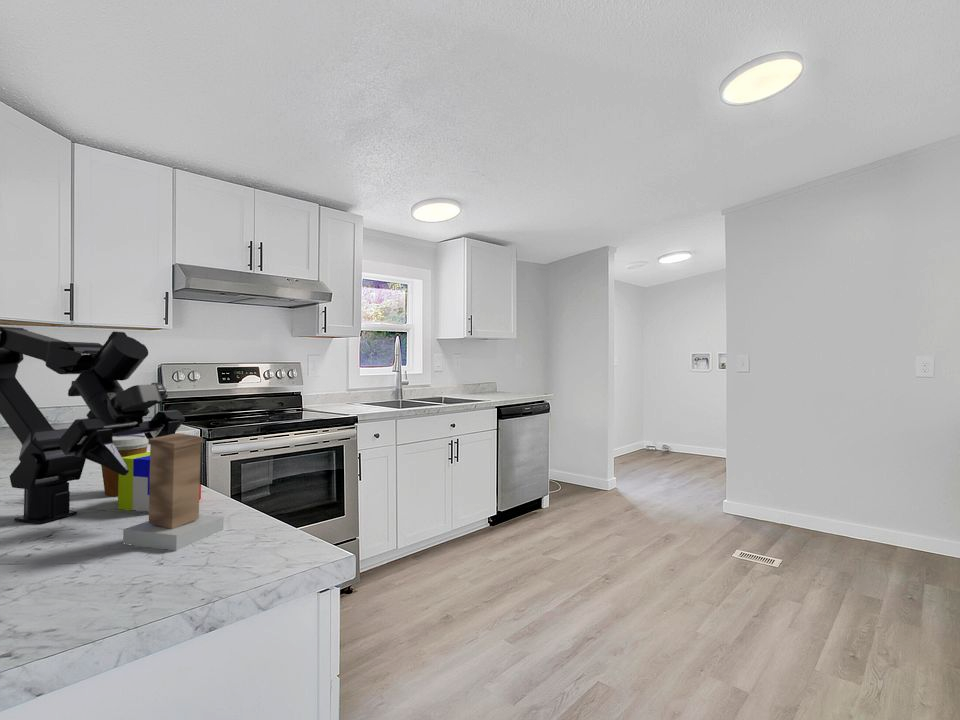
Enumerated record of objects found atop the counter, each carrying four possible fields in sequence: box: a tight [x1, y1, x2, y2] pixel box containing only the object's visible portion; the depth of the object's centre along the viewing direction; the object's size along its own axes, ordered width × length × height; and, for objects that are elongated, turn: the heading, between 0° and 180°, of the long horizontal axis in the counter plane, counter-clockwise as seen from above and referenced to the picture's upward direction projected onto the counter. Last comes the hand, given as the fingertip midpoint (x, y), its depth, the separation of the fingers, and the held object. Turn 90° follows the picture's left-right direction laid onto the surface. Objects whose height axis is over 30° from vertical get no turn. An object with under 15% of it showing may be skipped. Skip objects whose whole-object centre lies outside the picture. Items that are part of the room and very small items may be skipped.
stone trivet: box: [122, 513, 225, 551], centre depth 84 cm, size 10×10×3 cm
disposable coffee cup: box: [100, 434, 150, 497], centre depth 111 cm, size 10×10×12 cm
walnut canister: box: [148, 432, 204, 529], centre depth 84 cm, size 5×5×14 cm
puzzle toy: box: [117, 451, 203, 513], centre depth 103 cm, size 10×10×10 cm
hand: (152, 468), depth 86 cm, fingers open, 9 cm apart
